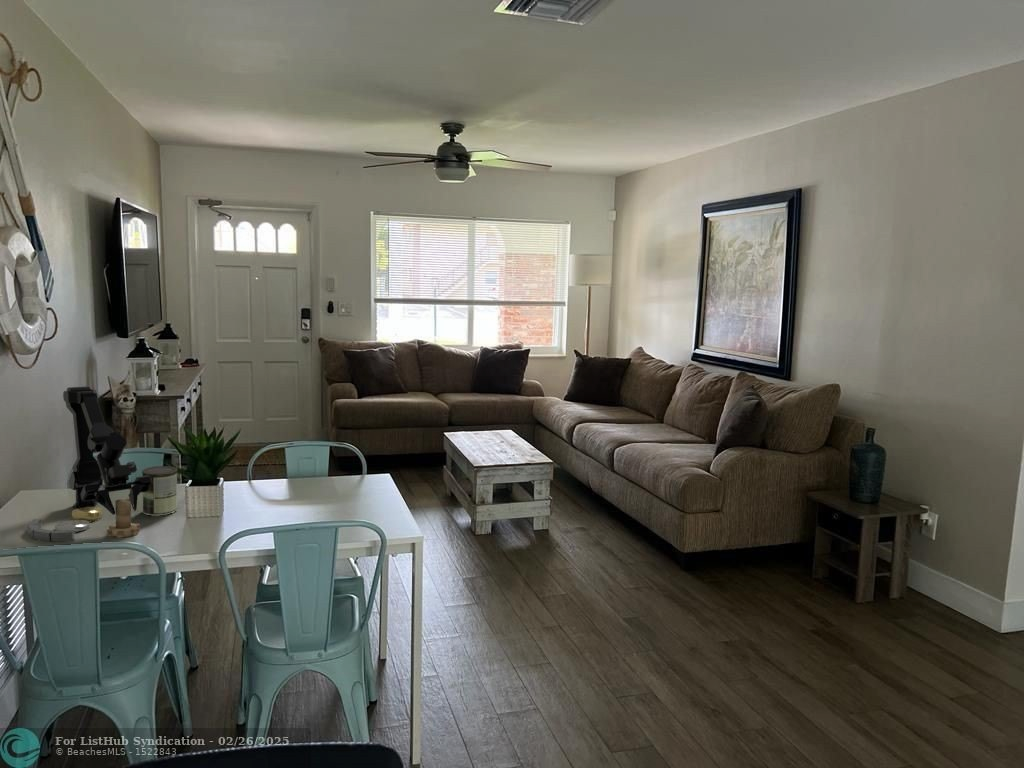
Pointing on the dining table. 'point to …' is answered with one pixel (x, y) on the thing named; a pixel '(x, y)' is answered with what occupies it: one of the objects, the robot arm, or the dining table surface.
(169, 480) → the coffee can
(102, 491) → the robot arm
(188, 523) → the dining table surface
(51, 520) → the dining table surface
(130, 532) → the gear
